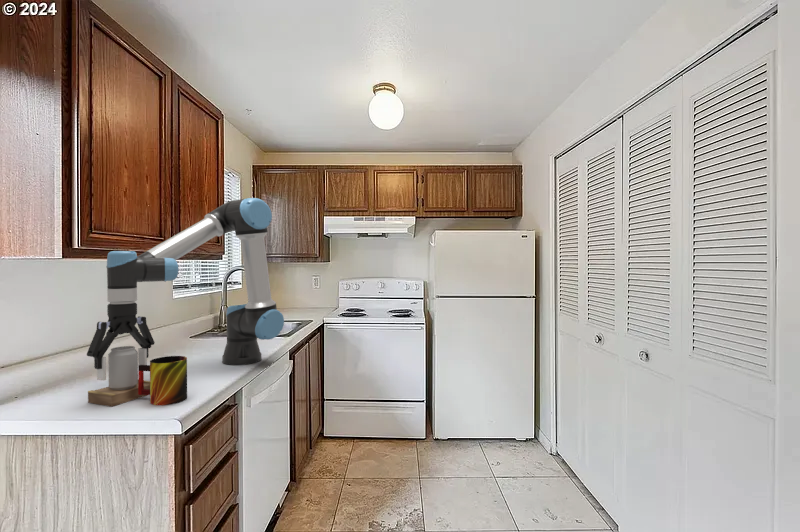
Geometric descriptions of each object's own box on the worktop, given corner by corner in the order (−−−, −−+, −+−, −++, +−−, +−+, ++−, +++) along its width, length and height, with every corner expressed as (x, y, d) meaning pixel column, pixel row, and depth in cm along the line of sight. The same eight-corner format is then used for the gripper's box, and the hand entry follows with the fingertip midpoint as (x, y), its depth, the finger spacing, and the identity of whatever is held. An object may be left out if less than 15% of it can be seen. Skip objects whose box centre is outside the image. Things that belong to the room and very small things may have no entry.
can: (123, 391, 127) (123, 350, 127) (102, 390, 128) (101, 349, 128) (143, 384, 134) (143, 345, 134) (123, 383, 136) (122, 344, 136)
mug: (139, 397, 131) (138, 357, 131) (189, 393, 135) (189, 355, 135) (129, 408, 122) (128, 365, 122) (184, 403, 126) (183, 362, 126)
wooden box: (133, 389, 140) (133, 378, 140) (156, 392, 136) (155, 382, 136) (88, 402, 127) (87, 391, 126) (112, 406, 123) (111, 395, 123)
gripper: (149, 298, 144) (150, 364, 144) (70, 306, 121) (71, 383, 121) (166, 299, 141) (167, 366, 141) (89, 307, 118) (89, 386, 118)
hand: (123, 374), depth 131 cm, fingers open, 12 cm apart
